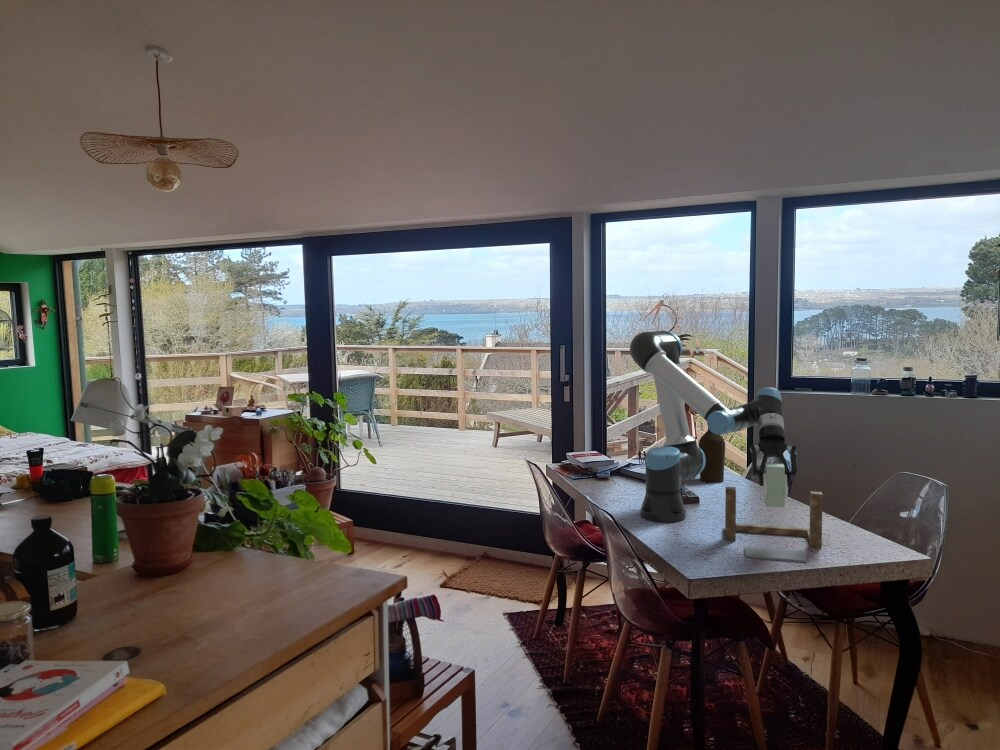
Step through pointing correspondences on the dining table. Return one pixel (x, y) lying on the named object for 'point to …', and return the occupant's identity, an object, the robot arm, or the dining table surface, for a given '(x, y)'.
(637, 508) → the dining table surface
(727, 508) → the frame
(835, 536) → the dining table surface
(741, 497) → the dining table surface
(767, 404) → the robot arm
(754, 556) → the mat
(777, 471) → the tall green square pillar
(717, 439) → the olive oil
